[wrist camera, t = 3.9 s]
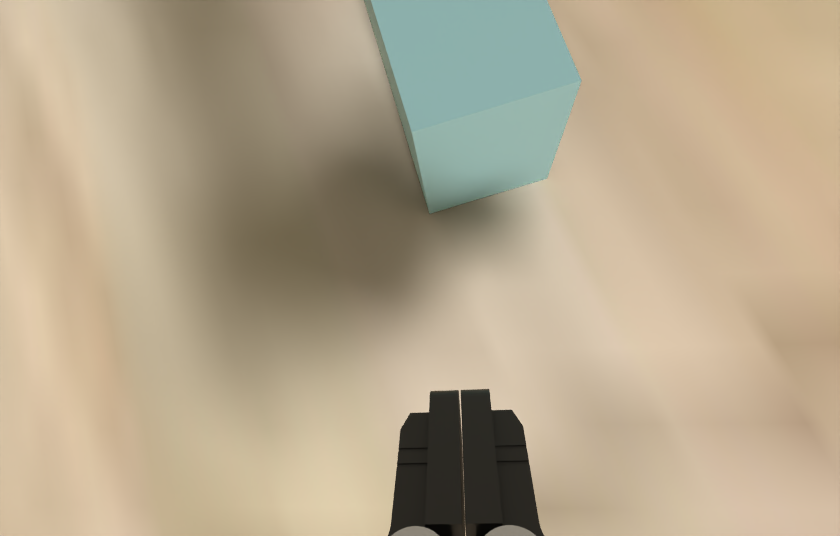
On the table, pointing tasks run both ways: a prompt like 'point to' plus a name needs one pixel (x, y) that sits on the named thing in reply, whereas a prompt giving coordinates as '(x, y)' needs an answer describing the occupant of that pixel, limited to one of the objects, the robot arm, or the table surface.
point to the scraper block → (476, 91)
